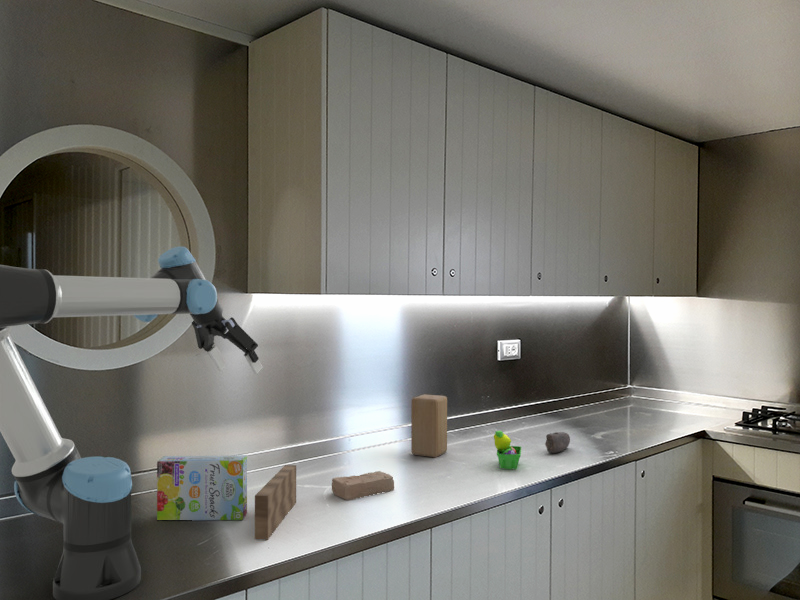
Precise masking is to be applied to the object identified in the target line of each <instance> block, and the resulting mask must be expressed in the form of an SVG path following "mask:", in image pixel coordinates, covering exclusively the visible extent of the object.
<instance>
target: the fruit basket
mask: <svg viewBox="0 0 800 600" xmlns="http://www.w3.org/2000/svg"><path fill="white" fill-rule="evenodd" d="M493 438H494V439H493V440H494V446H495V448H496V456H497V459H498V463H499V467H500V469H501V468H505V470H518V466H519V461H520V458H521V456H522V447H521V446H518V445H511V443H512V440H511V438H510V437H509V436H508V435H507V434H505V433H504V432H503V431H502V430H495V432H494V435H493Z"/></svg>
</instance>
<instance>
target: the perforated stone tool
mask: <svg viewBox="0 0 800 600" xmlns="http://www.w3.org/2000/svg"><path fill="white" fill-rule="evenodd" d="M545 437H546V440H545V443H544V445H545V448H546V450H547V451H546V452H548V453H551V454H557V453H561V452H563V451H565V450H566V449H567V448H568V447H569V445H570V442H571V437H570V434H568V432H567V433H566V432H565V431H558V432H557V431H556V432H551V433H550V432H549V433H548V434H546V435H545Z"/></svg>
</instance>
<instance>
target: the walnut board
mask: <svg viewBox="0 0 800 600" xmlns="http://www.w3.org/2000/svg"><path fill="white" fill-rule="evenodd" d="M295 503H296V504H297V465H295V464H294V465H293V464H292V465H291V464H285V465H284V466H283V467H282V468H280V470H279V471H277V472H276V474H275V475H274V476H273V477H271V479H270V480H269V481H267V483H266V484H265V485H264V486H262V488H261V489H259V491H257V493H256V494H254V540H255V539H266V540H265V541H268V540H269V539H270V538H271V537H272V535H273V534H274V532H275V531H276V530H277V529H278V528H279V526H280V525H281V524H282V522H283V521H284V520H285V518H286V517H285V516H287V515H288V514H289V513H290V511H291V510H292V509H293V507H294V506H295V505H296V504H295ZM288 512H289V513H288ZM282 520H283V521H282ZM279 524H280V525H279ZM276 528H277V529H276ZM272 533H273V534H272ZM269 537H270V538H269Z"/></svg>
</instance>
